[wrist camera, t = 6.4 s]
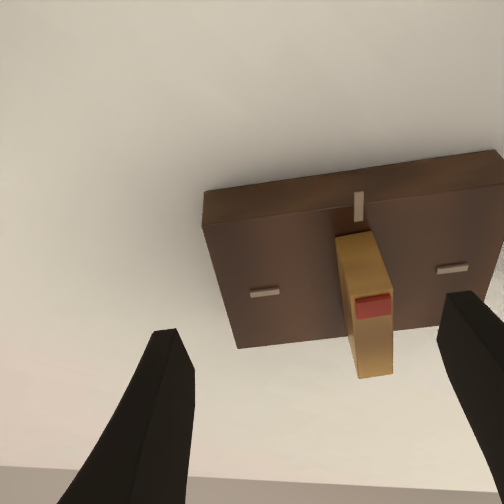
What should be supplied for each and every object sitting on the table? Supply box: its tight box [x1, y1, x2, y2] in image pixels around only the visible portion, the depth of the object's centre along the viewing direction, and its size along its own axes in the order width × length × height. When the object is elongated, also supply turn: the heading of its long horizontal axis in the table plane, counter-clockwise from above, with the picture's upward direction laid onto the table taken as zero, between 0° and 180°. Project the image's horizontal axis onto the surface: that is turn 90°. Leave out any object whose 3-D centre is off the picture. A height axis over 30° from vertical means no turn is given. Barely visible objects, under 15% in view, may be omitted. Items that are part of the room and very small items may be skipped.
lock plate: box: [201, 150, 504, 349], centre depth 21 cm, size 13×10×3 cm
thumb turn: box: [335, 231, 393, 379], centre depth 19 cm, size 6×2×4 cm, turn 12°
